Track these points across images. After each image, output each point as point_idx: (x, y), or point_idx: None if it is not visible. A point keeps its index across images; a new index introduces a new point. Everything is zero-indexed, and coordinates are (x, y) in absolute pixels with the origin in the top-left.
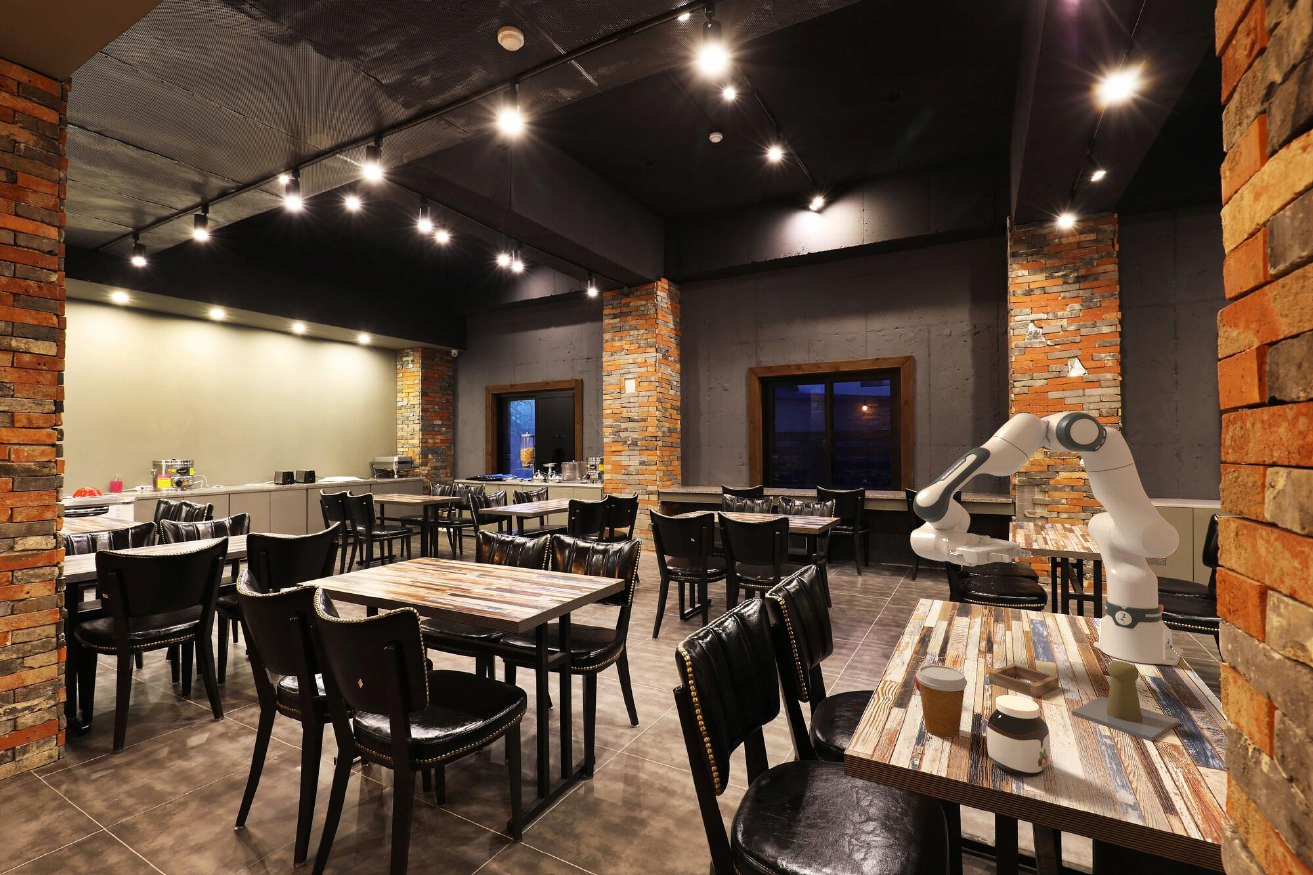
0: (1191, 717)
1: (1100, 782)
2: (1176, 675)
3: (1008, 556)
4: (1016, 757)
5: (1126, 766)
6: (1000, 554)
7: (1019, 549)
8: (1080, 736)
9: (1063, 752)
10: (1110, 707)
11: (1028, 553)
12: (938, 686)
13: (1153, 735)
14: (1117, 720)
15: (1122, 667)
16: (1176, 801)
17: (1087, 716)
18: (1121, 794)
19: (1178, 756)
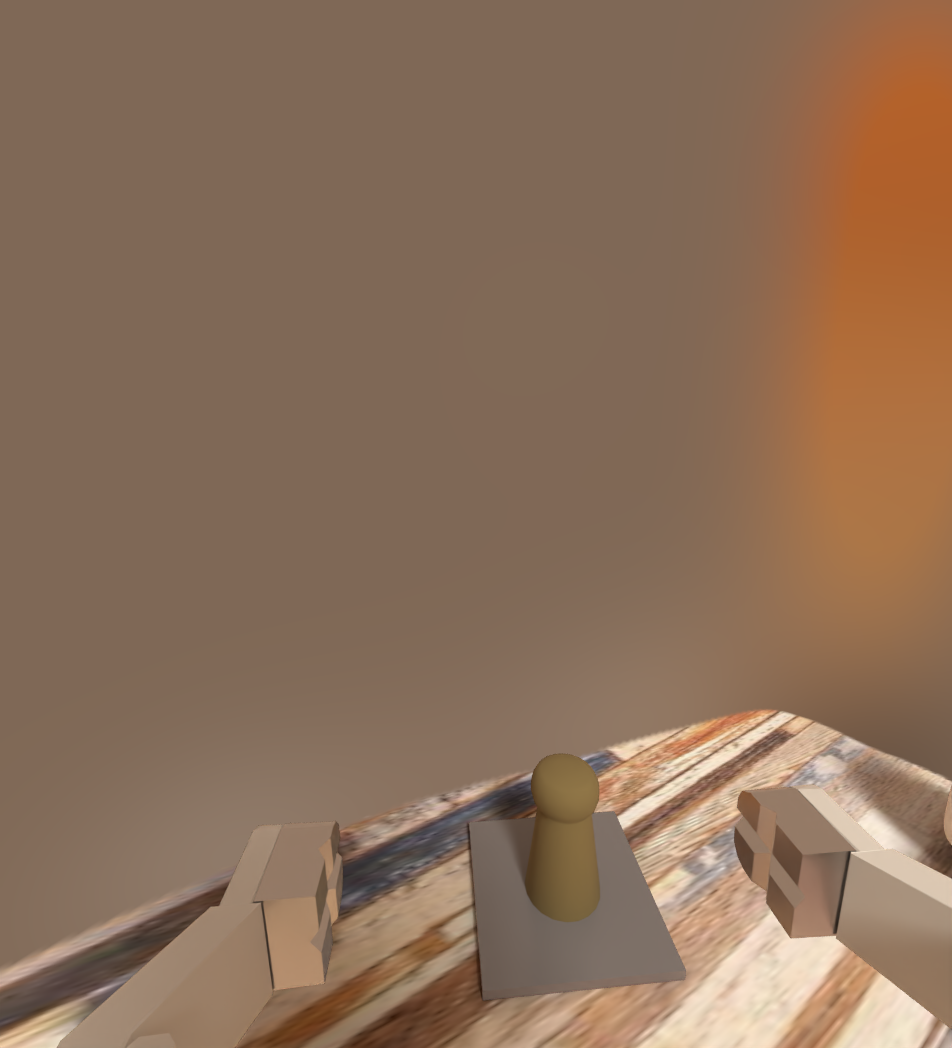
0: (410, 831)
1: (846, 793)
2: (23, 983)
3: (807, 786)
4: None
5: None
6: (901, 855)
7: (183, 984)
8: (762, 894)
9: None
10: (596, 884)
11: (337, 827)
12: None
13: (602, 813)
14: (608, 878)
15: (586, 764)
16: (753, 738)
17: (666, 928)
18: (830, 768)
19: (622, 780)
